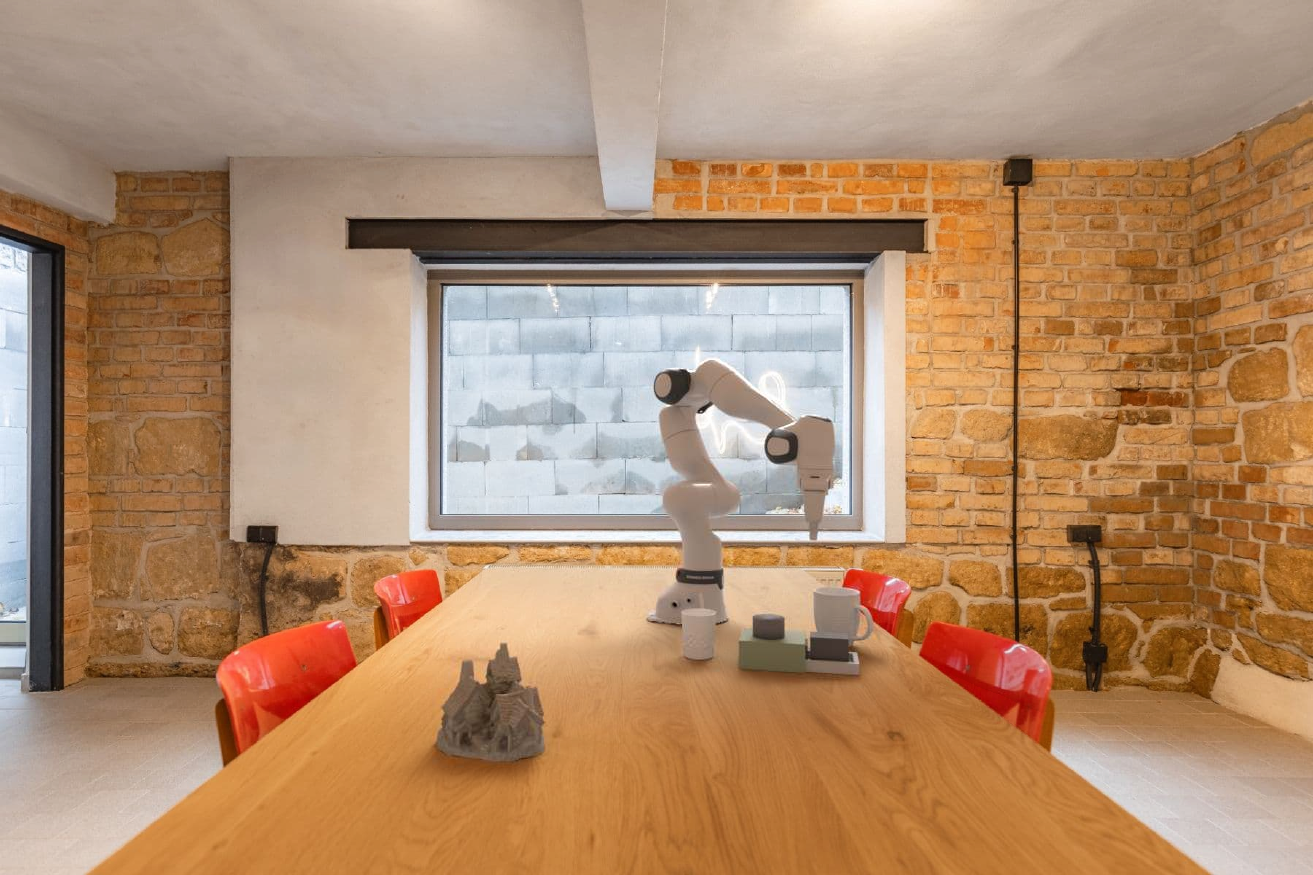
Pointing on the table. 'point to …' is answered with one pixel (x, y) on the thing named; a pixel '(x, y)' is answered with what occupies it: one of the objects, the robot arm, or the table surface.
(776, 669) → the green box with dome
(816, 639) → the tall grey rectangular block
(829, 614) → the mug
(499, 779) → the table surface
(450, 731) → the ceramic cottage
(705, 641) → the white cup
